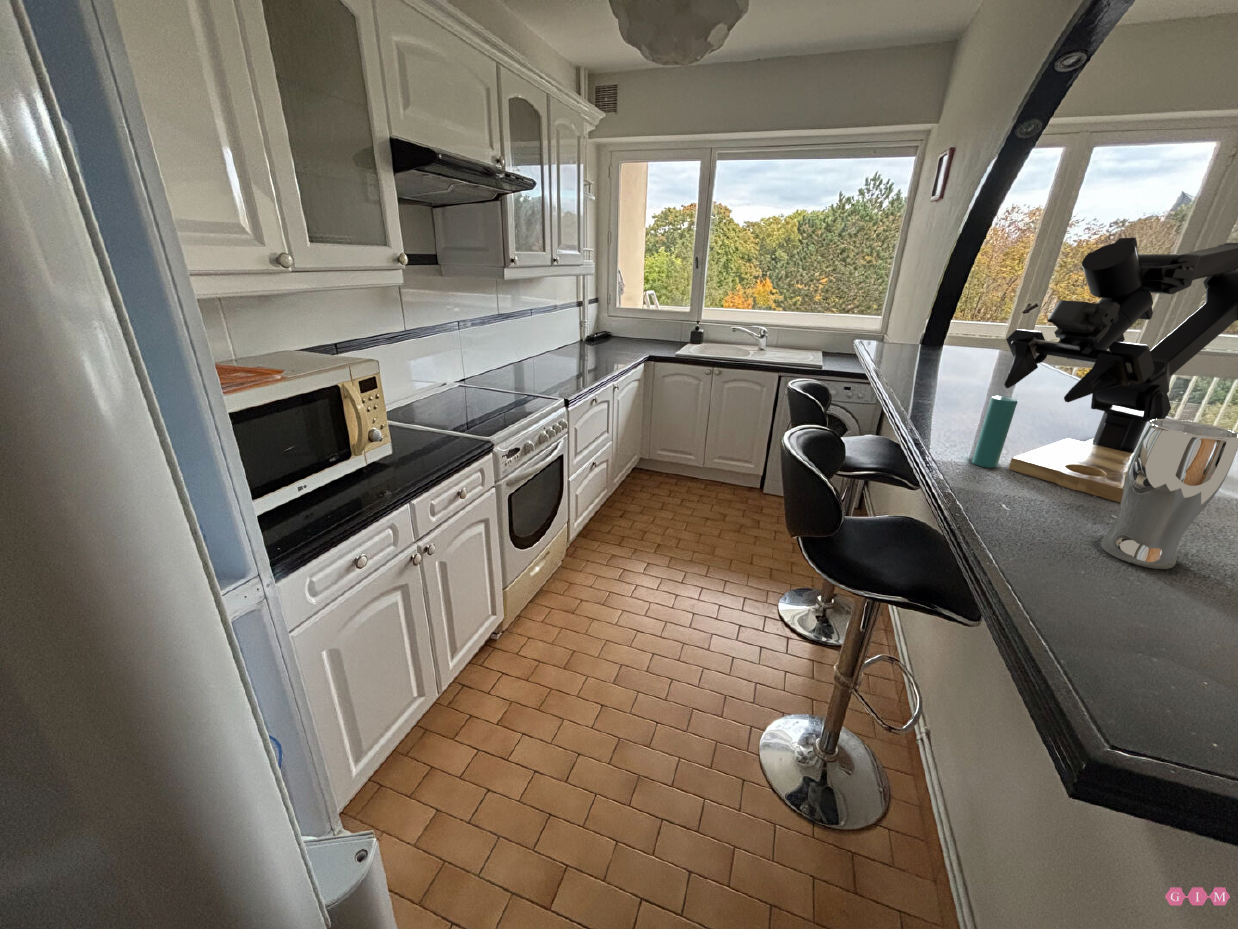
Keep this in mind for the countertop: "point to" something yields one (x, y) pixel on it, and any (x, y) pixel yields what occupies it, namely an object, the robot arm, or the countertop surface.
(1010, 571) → the countertop surface
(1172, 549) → the beer glass
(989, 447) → the peg
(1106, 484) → the board
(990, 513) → the countertop surface
